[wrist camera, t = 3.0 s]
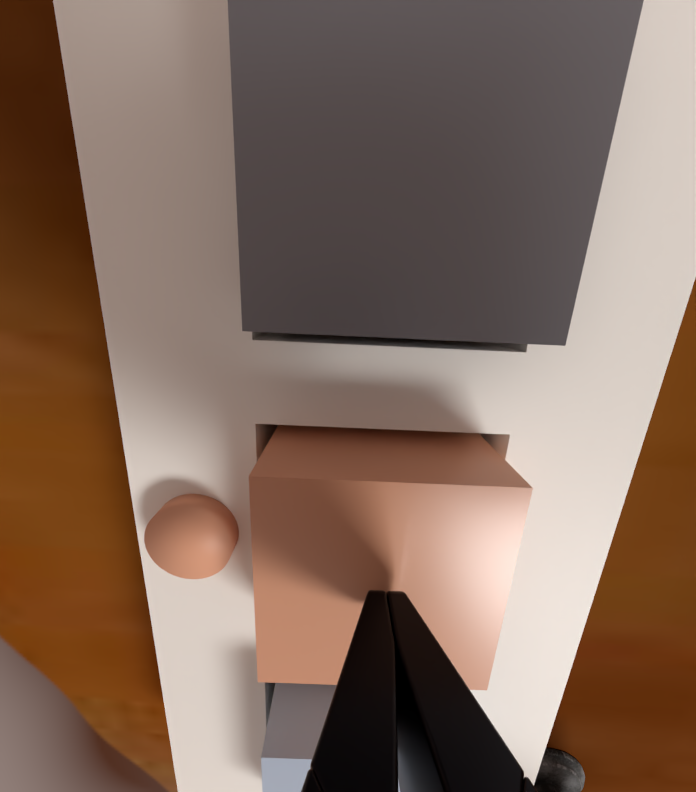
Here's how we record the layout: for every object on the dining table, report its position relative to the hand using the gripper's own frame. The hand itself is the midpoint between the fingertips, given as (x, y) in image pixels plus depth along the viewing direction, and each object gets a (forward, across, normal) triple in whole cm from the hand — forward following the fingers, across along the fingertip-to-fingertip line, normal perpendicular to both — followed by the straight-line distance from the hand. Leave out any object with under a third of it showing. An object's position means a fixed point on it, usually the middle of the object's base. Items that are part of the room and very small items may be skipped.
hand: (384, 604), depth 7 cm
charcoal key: (+3, 0, -9) cm, 10 cm away
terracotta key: (+3, 0, 0) cm, 3 cm away
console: (+5, 0, 0) cm, 5 cm away
